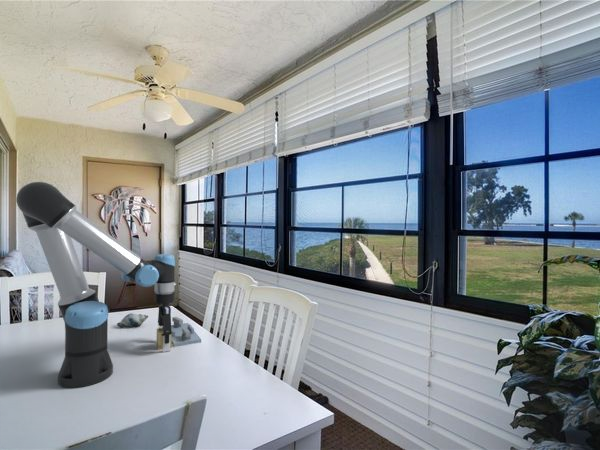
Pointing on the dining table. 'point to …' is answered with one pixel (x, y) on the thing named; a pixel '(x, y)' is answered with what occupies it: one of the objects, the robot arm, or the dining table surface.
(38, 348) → the dining table surface
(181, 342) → the shaft bench
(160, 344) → the block
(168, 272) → the robot arm
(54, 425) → the dining table surface
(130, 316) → the seashell
